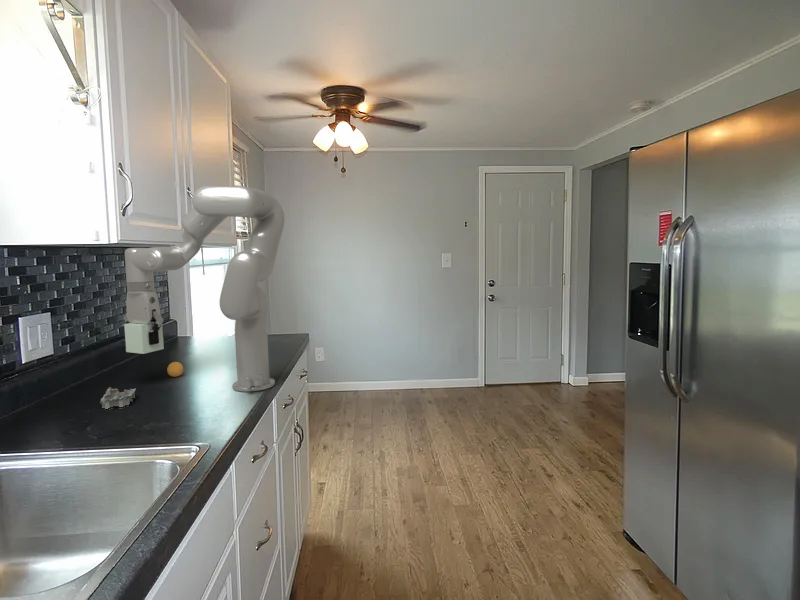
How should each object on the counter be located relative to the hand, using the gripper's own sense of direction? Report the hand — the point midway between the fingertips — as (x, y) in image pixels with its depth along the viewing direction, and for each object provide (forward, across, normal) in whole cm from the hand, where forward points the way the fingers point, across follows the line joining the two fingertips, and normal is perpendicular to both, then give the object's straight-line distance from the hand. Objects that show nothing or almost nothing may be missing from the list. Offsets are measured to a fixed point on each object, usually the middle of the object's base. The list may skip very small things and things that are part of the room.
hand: (144, 342), depth 155 cm
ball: (+11, 0, -11) cm, 15 cm away
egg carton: (+14, -8, +16) cm, 23 cm away
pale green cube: (+2, 0, 0) cm, 2 cm away
